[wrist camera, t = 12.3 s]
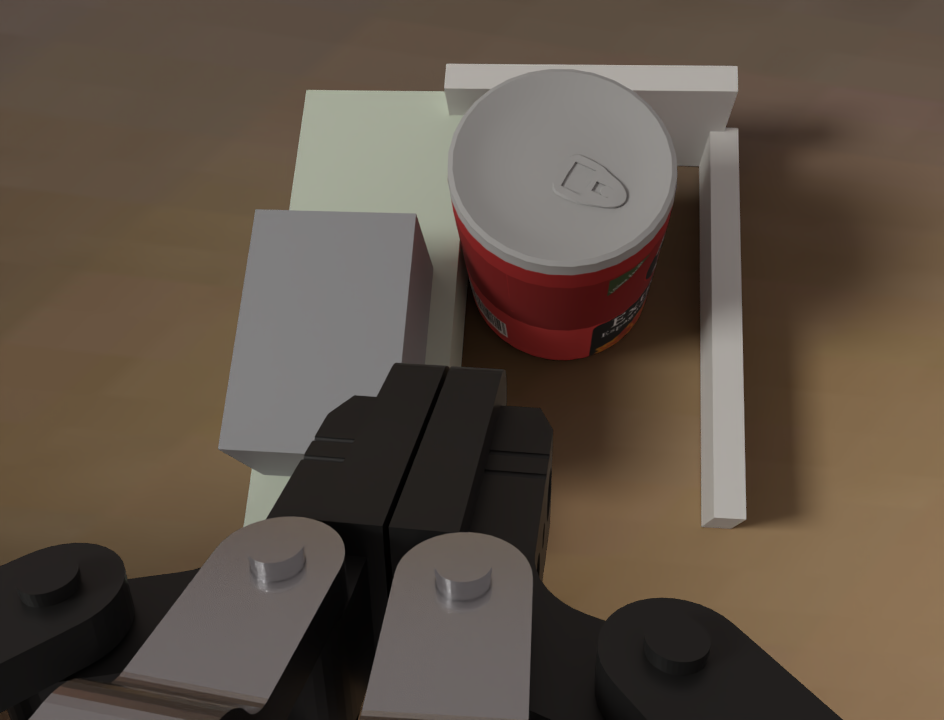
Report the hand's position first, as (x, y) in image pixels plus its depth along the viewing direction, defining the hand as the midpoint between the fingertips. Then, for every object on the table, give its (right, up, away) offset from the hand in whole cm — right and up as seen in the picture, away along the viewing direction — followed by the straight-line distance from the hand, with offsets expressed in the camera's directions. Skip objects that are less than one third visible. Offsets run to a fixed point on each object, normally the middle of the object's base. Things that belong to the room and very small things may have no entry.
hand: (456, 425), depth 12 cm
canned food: (+4, +4, +28) cm, 29 cm away
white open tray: (+2, +2, +28) cm, 28 cm away
